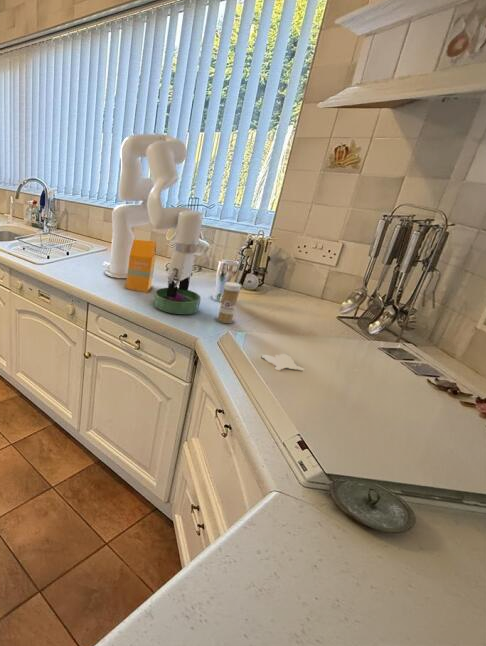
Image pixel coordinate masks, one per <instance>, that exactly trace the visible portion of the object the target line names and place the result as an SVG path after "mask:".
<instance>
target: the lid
mask: <svg viewBox="0 0 486 646" xmlns="http://www.w3.org/2000/svg"><path fill="white" fill-rule="evenodd" d="M333 480H334V479H333ZM333 480H332V481H331V483H330V485H329V494H330V497H331V500H332V501H333V503H334V505H335V506H336V507H337V508H338V510H340V511H341V512H342V514H345V515H346V516H348V517H349V518H350V519H352V520H354V521H355V522H357V523H359V524H361V525H363V526H365V527H368V528H370V529H373V530H376V531H378V532H382V533H390V534H400V533H406V532H408V531H411V530H412V529H413V528H414V527H415V526H416V522H417V518H416V515H415V512H414V510H413V508H411V506H410V505H409V504H408V503H407V501H405V500H404V499H403V498H402V497H400V495H398V493H396V492H395V491H392V490H391V489H389V488H387V487H385V486H384V485H382V484H380V485H378V484H379V483H378V484H373V483H371V484H370V483H352V482H347V481H339V480H336V481H335V480H334V481H333Z"/></svg>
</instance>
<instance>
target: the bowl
mask: <svg viewBox="0 0 486 646" xmlns="http://www.w3.org/2000/svg"><path fill="white" fill-rule="evenodd" d="M167 290H168V287H161V288H158V289H156V290H155V291H154V297H153V306H154V307H155V309H158V310H160V311H162V312H166V313H169V314H175V315H191V314H195V313H197V312H198V311H199V309H200V304H201V300H202V299H201V295H199V293H197V292H195V291H192V290H191V289H188V290H187V291H185V290H181V289H179V287H178V289H177V293H180V294H182V295H183V297H184V302H177V301H171V300H169V298H170V297H169V296H167Z"/></svg>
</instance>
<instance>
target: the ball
mask: <svg viewBox="0 0 486 646" xmlns="http://www.w3.org/2000/svg"><path fill="white" fill-rule="evenodd" d="M169 300H171V301H177V302H184V297H183V295H182V294H180V293H177V295H176V297H175V298H173V297H170V298H169Z"/></svg>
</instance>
